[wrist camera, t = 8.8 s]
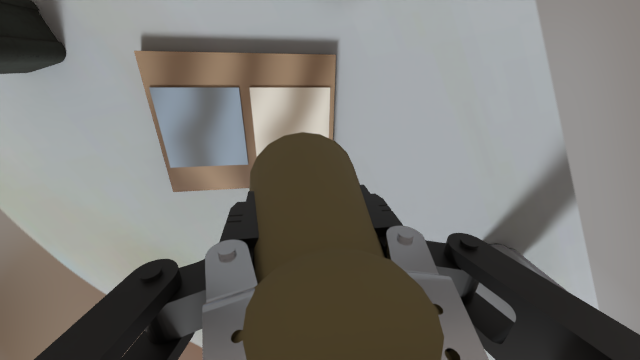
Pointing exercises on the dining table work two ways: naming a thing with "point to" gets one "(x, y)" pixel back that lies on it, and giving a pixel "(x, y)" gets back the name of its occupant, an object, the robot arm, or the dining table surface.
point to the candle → (26, 39)
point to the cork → (327, 266)
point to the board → (232, 109)
